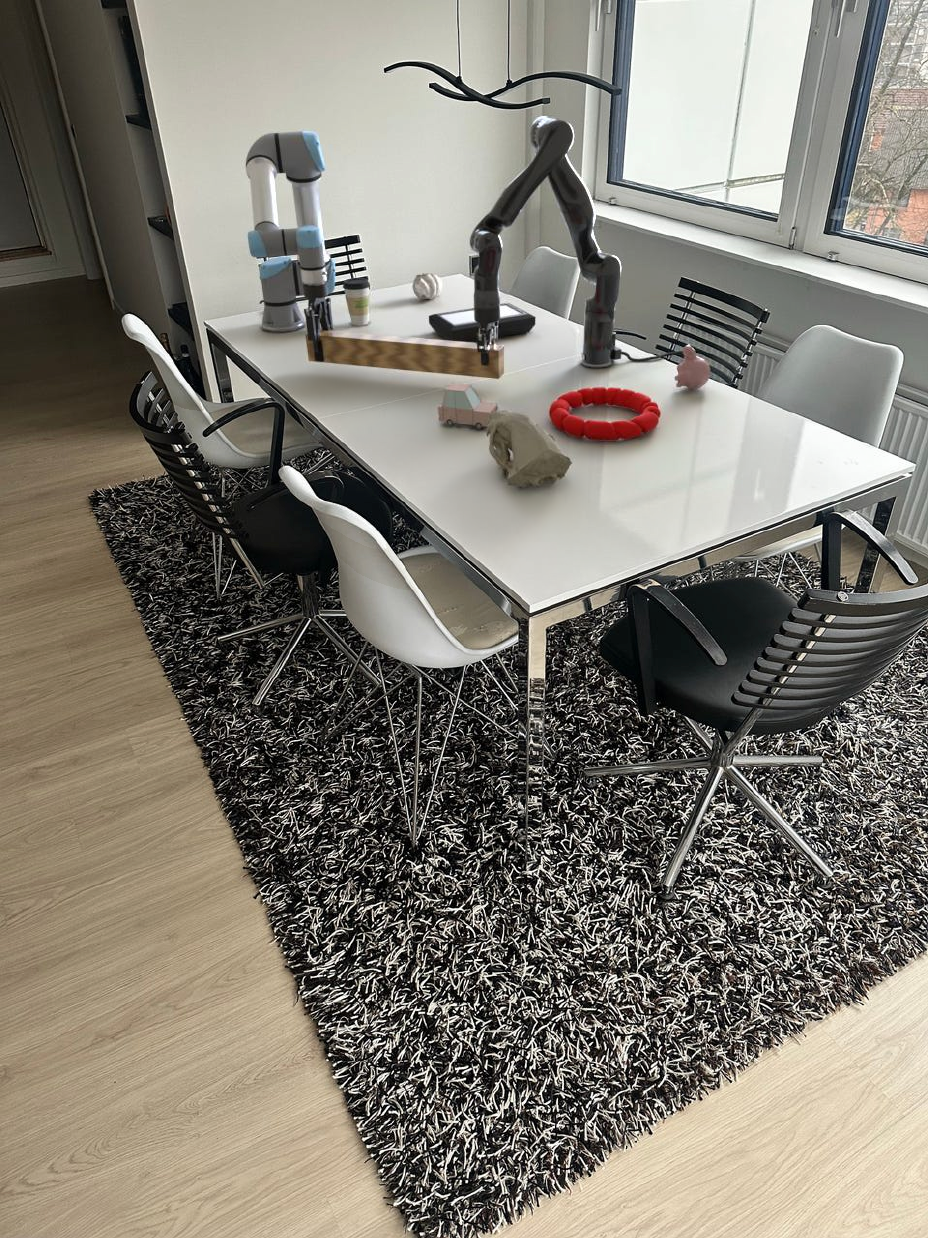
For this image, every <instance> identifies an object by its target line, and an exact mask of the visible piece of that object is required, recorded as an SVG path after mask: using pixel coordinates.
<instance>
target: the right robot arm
mask: <svg viewBox="0 0 928 1238" xmlns="http://www.w3.org/2000/svg"><path fill="white" fill-rule="evenodd" d="M529 138H530V144H531V146H532V149H533V151H534V153H535V156H534V157H533V159H532V160H531V161H530V163H529V164H528V165H527V166H526V167H525V168H524V169H523V170H522V171H521V172H520V173H519V174H518V175H517V176H516V177H514V178H513V179H512V180H511V181H510V182H509V183H508V184H507V185H506V186H505V188H504V189H503V190H502V192H501V193H500V195H499V197H498V198H497V200H496V201H495V203H494V205H493V206H492V208H491V209H490V211H488V213H487V214H486V215H485V216H484V217H483V218H482V219H481V220H480V221H479V223H477V224H476V225H475V227H474V229H473V230H472V232H471V234H470V237H469V247H470V249H471V251H473V252H474V253H475V254H477V255H478V264H477V266H475V267H474V271H473V287H474V288H473V308H474V320H475V321H476V322H478V323H480V328H479V333H476V341H475V342H476V343H477V351H478V352H479V353H481V365H485V366H487V365H488V364H489V353H488V352H489V345H491V344H496V345H497V343H498V340H499V337H498V324H499V322H498V321H499V320H500V304H501V293H500V275H499V271H500V267H501V263H502V257H503V241H502V238H501V236H500V234H501V233H502V232H503V231H504V230H505V229H511V227H512V226H513V225H514V223H515V222H516V220H517V219H518V217H519V215H520V214H521V212H522V211H523V209H524V208H525V206H526V204H527V203H528V202H529V200H530V199H531V197H532V196H533V195H534V194H535V192H536V190H537V189H538V188H539V187H540V186H541V184H542V183H543V182H544V181H545V180H546V179H547V180H548V182H549V186H550V188H551V191H552V193H553V195H554V198H555V201H556V204H557V207H558V210H559V212H560V215H561V217H562V220H563V222H564V224H565V226H566V229H567V232H568V235H569V238H570V240H571V242H572V245H573V249H574V252H575V255H576V259H577V263H578V267H579V270H580V274H581V276H582V278H583V280H585V281H586V282H587V283H589V284H591V285H595V289H594V290H595V291H594V295H590V296H588V297H587V298H585V300H584V314H583V315H584V317H583V337H582V338H583V339H582V352H581V357H580V358H581V364H582V366H584V367H588V368H590V369H591V368H592V369H603V368H607V367H609V366H611V365H613V364H615V361H617V360H621V359H622V355H623V356H625V357H626V358H627V359H628V360H629V361H630V362H635V363H639V362H646V361H653V360H658V359H661V358H664V357H670V356H671V357H672V356H677V355H684V353H683V350H678V351H672V352H665V353H662V354H658V355H654V356H647V357H643V358H635V357H631V355H630V354H629V353H628V352H626V351H622V348H620V347H617V346H616V339H617V333H616V332H615V331H614V329H615V328H614V326H615V313H616V312H615V311H616V303H617V301H618V300H619V299H618V298H619V295H620V294H619V293H620V286H621V278H622V277H621V276H622V265H621V261H620V259H619V258H618V257H617V256H615V255H613V254H610V253H606V252H602V251H601V250H600V247H599V246H598V244H597V241H596V238H595V235H594V227H595V221H596V208H595V205H594V202H593V199H592V197H591V194H590V191H589V189H588V187H587V186H586V184H585V182H584V181H583V179H582V178H581V176H580V175H579V173H578V172H577V171H576V169H575V168H574V167H573V165H572V164H571V162H570V160H569V158H568V155H567V154H568V153H569V151H570V149H572V148H571V147H572V146H573V144H574V138H575V134H574V129H573V127H572V125H571V123H570V122H568V121H566V120H564V119H562V118H558V117H555V116H552V115H542V116H539V117H537V118H536V119H535V120H534V121H533V122H532V125H531V126H530V131H529ZM483 347H484V349H483Z"/></svg>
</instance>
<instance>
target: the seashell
mask: <svg viewBox="0 0 928 1238" xmlns="http://www.w3.org/2000/svg"><path fill="white" fill-rule="evenodd" d="M411 288H412V291H413V293H414V295H415V296H416V297H417V298H418V299H420V300H426V299H428V300H432V299H435V298H437V297H438V296H439V295H440V294H441V291H442V289H443V282H442V280H441V278H440V276H437V275H436V273H429V272H428V273H427V272H426V273H424V272H423V273H422V274H416V275H415V278H414V279H413V282H412V287H411Z"/></svg>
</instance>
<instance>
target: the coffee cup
mask: <svg viewBox="0 0 928 1238" xmlns="http://www.w3.org/2000/svg"><path fill="white" fill-rule="evenodd" d="M370 287H371V283H370V282H369V279H367V278H365V277H351V278H347V279H345V280H344V281H343V285H342V288H343V290H344V297H345V301H346V305H347V310H348V314H349V318H350V323H351V325H353V326H357V327H359V326H365V325H368V324H369V317H370V316H369V313H370Z"/></svg>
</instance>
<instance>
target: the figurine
mask: <svg viewBox="0 0 928 1238" xmlns="http://www.w3.org/2000/svg"><path fill="white" fill-rule="evenodd" d="M682 351H683V353H684V354H683V358H684V359H683V361H682V362H679V363H678V364H677V365H676V372H677V375H675V376H674V381H675V382H676V381H677V382H676V384H675V386H676V388H681V387H686V388H688V389H693V390H694V389H695V390H696V389H700V388H703V387H704V386H705V385H706V384H707V383H708V382H709V379H710V377H711V367H710V364H709V362H708V361H706V359H704V358H702V357H700V356H697V353H696V350H695V349H694V347H692V345H690V344H686V345H685V346H684V347H683V348H682Z"/></svg>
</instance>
